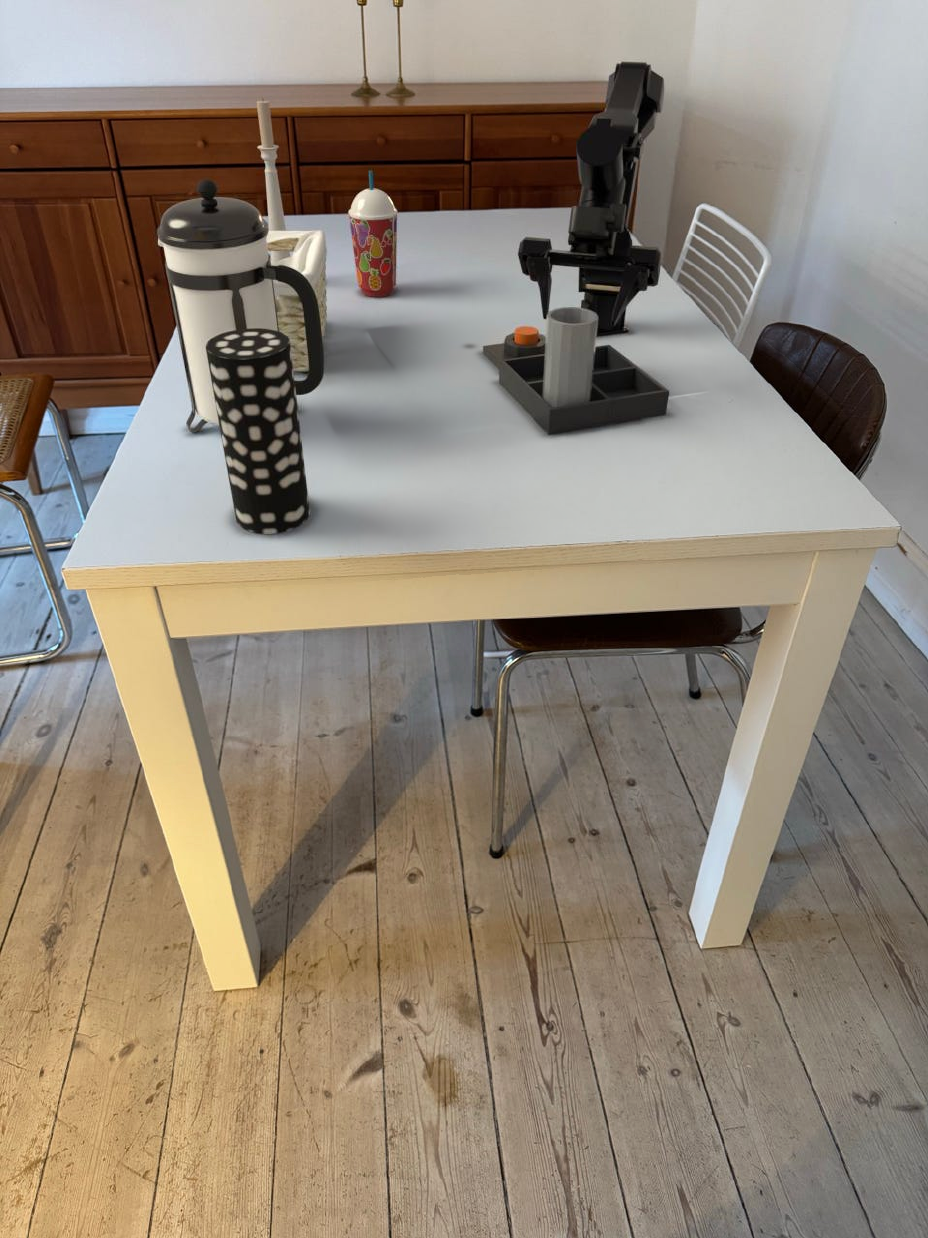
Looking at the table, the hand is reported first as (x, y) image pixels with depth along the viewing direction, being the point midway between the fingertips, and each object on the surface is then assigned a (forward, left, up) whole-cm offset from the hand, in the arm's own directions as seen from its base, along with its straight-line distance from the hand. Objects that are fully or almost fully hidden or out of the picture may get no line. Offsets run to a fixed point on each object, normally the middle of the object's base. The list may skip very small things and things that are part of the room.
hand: (578, 321), depth 122 cm
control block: (0, -16, -11) cm, 19 cm away
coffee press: (+43, -8, -11) cm, 46 cm away
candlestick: (+28, -63, -11) cm, 70 cm away
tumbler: (+3, +5, -10) cm, 12 cm away
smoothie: (+13, -53, -11) cm, 56 cm away
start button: (0, -16, -8) cm, 18 cm away
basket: (+35, -33, -11) cm, 50 cm away
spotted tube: (+45, +17, -11) cm, 50 cm away
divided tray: (-1, 0, -11) cm, 11 cm away
